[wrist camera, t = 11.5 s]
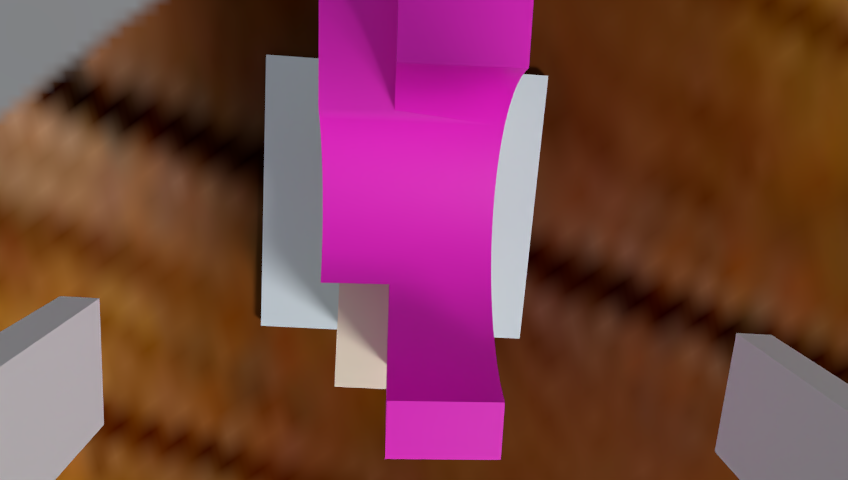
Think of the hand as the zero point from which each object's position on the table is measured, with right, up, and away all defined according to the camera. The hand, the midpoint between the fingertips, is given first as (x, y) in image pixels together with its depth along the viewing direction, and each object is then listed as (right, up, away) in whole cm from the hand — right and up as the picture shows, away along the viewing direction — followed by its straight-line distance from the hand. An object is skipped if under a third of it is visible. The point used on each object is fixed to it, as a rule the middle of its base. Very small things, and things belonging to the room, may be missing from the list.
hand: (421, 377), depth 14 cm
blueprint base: (-1, +5, +21) cm, 22 cm away
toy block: (-1, +5, +13) cm, 14 cm away
